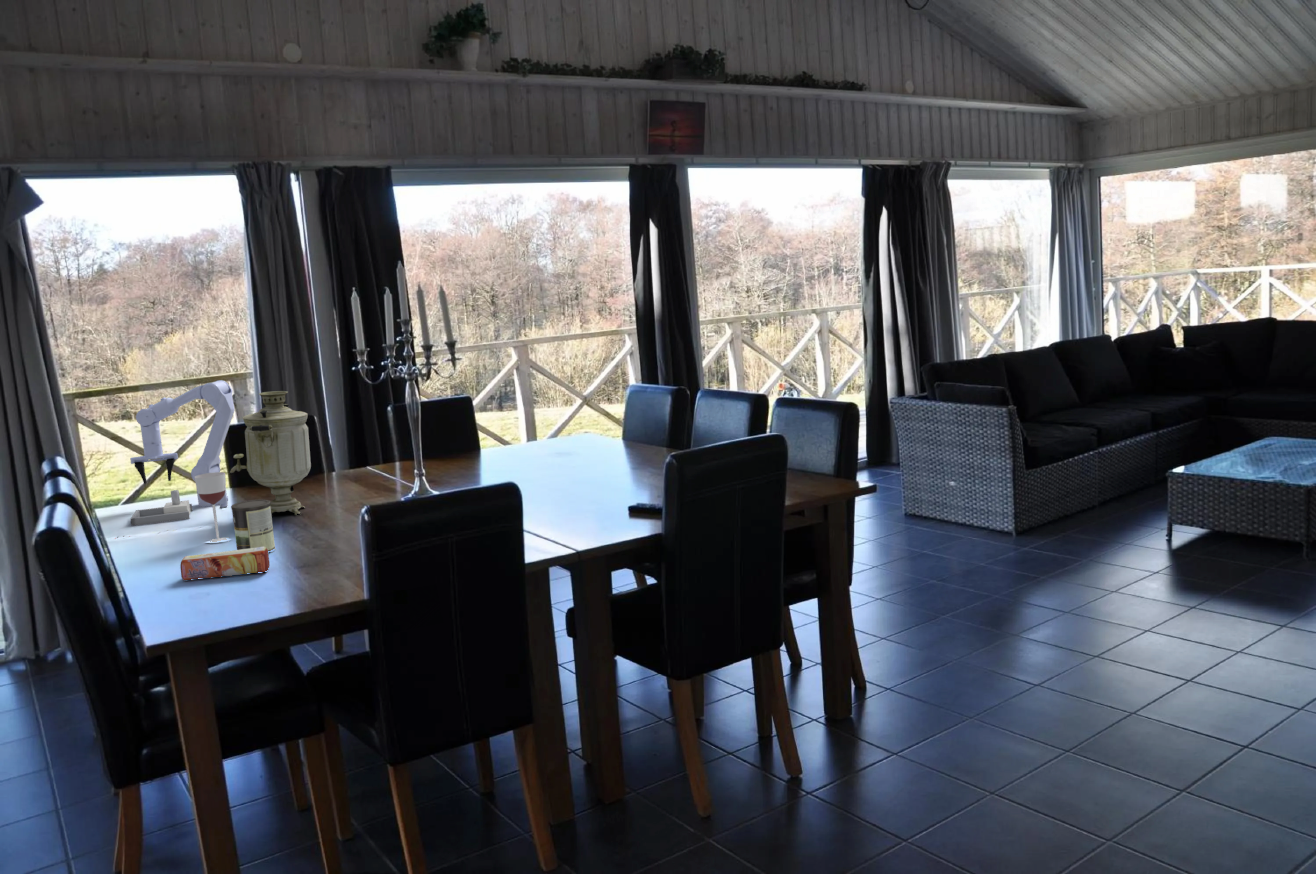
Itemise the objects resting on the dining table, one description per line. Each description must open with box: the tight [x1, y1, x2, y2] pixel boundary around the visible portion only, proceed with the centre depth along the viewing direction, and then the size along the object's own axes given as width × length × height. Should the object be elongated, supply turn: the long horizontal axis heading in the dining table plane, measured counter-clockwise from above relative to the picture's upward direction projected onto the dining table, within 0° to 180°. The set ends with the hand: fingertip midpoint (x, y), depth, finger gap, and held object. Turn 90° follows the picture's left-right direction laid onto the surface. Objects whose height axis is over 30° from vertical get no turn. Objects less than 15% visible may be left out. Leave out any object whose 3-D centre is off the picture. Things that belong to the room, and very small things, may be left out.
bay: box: [130, 503, 194, 527], centre depth 339 cm, size 17×14×4 cm
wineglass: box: [194, 471, 227, 542], centre depth 307 cm, size 8×9×20 cm
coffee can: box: [230, 499, 276, 551], centre depth 292 cm, size 10×10×14 cm
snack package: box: [179, 547, 270, 581], centre depth 270 cm, size 21×7×7 cm, turn 100°
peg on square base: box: [163, 489, 191, 516], centre depth 340 cm, size 7×9×8 cm
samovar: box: [229, 390, 312, 516], centre depth 340 cm, size 30×26×40 cm
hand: (157, 481), depth 357 cm, fingers open, 7 cm apart
